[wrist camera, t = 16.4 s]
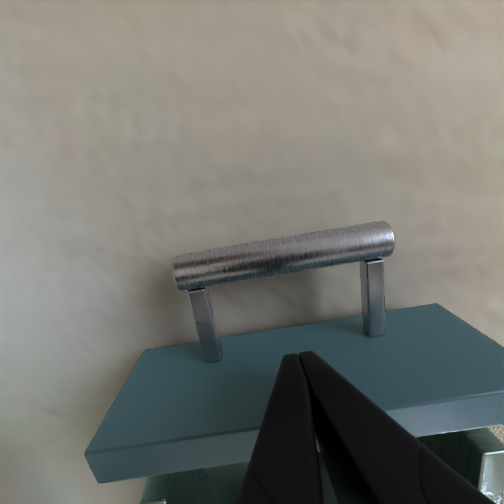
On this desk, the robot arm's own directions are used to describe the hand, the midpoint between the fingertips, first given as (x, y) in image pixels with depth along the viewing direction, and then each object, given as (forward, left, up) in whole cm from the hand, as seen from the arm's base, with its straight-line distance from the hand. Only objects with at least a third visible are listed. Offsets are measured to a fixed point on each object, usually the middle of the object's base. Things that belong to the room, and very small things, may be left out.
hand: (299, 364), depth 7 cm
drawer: (0, -5, -3) cm, 6 cm away
